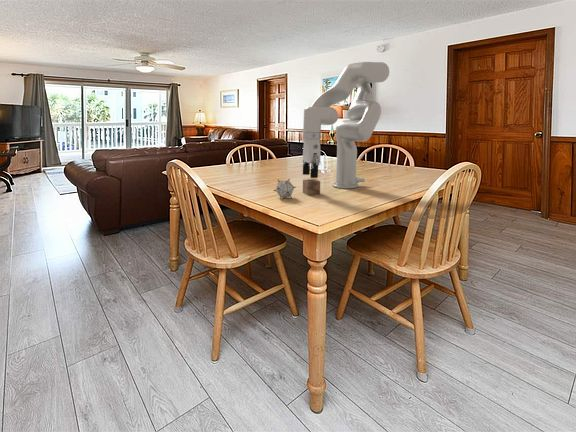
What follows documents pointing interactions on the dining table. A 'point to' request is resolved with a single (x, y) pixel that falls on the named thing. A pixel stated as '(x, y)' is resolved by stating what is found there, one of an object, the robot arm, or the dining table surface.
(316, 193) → the walnut cube
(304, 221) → the dining table surface
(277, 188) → the grey spiked ball
